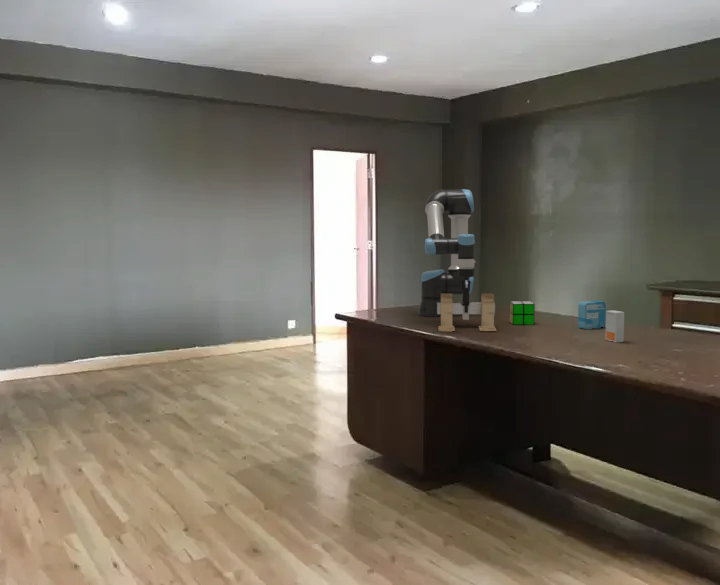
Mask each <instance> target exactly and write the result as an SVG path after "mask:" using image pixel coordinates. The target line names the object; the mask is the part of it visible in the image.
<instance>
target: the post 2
mask: <svg viewBox="0 0 720 585" xmlns="http://www.w3.org/2000/svg"><path fill="white" fill-rule="evenodd" d="M480 302H481V314H480V316H481V317H480V325H478V330H480V331H496V332H497V328H496V327H495V314H494V303H495V294H493V293H481V301H480ZM480 331H479V332H480Z"/></svg>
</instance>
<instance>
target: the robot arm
mask: <svg viewBox="0 0 720 585" xmlns="http://www.w3.org/2000/svg"><path fill="white" fill-rule="evenodd" d="M474 205H475V204H474V196H473V192H472V191H471V190H470V189H464V188H459V189H458V188H457V189H456V188H455V189H438V190H435V192H433V193H432V194H430V195H429V196H428V198H427V200H426V201H425V204H424V211H425V214H426V216H427V218H426V219H427V230H428V231H427V235H428V238H425V240H424V253H425V254H426V255H433V256H434V255H450V266H448V268H447V272H446V271H445V269H434V270H427V271H423V272H422V273H421V278H420V279H421V281H420V282H421V290H420V291H421V298H420V299H421V300H420V303H419V307H418V310H417V315H418V316H420V317H421V316H422V317H441V314H437V302H441V294H452V295H453V296H457V295H458V296H459V295H460V296H462V300H461V301H462V302H463V304H462V306H463V314H461V315H462V320H463V321H466V320H467V321H469V320H470V314H469V304H470V303H469V302H470V294H471V293H472V290H473V286H474V279H475V278H474V277H475V269H474V268H475V264H476V262H477V261H476V260H475V244H476V241H475V234H472V233H471V234H470V233H469V218H470V217H471V216H472V213H474V211H475V206H474ZM444 213H447V216H448V218H450V237H449V238H448V237H447V238H445V229H444V220H443V214H444Z"/></svg>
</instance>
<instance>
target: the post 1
mask: <svg viewBox="0 0 720 585" xmlns="http://www.w3.org/2000/svg"><path fill="white" fill-rule="evenodd" d="M453 296H454V295H452V294H441V316H440V325H438V328H437V329H438V332H452V331H456V330H455V329H456V328H455V326H454V325H453V314H452V302H454V301H453Z"/></svg>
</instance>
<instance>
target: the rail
mask: <svg viewBox="0 0 720 585" xmlns="http://www.w3.org/2000/svg"><path fill="white" fill-rule="evenodd" d="M469 303H470V304H469V315H481V301H480V302H478V301H477V302H473V301H472V302H471V301H469ZM462 304H463V302H461V301H460V302H457V301H456V302H454V301H453V302H452V315H462V314H463V306H462ZM437 314H441V302H437ZM494 315H496V303H495V302H494Z"/></svg>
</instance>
